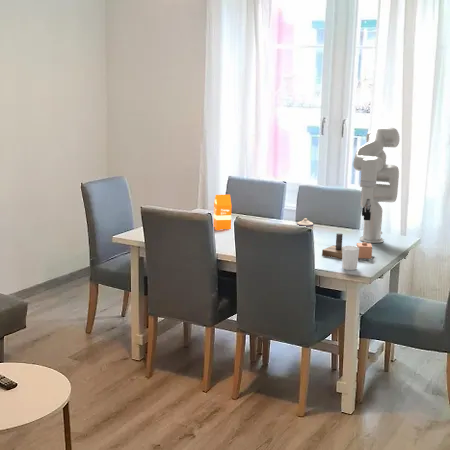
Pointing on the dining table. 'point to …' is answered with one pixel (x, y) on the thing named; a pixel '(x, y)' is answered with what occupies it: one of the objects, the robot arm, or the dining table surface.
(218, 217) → the orange juice
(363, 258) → the coaster
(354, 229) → the dining table surface
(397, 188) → the robot arm
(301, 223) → the teacup with lid
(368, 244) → the peach cube
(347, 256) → the white cup
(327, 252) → the post base
